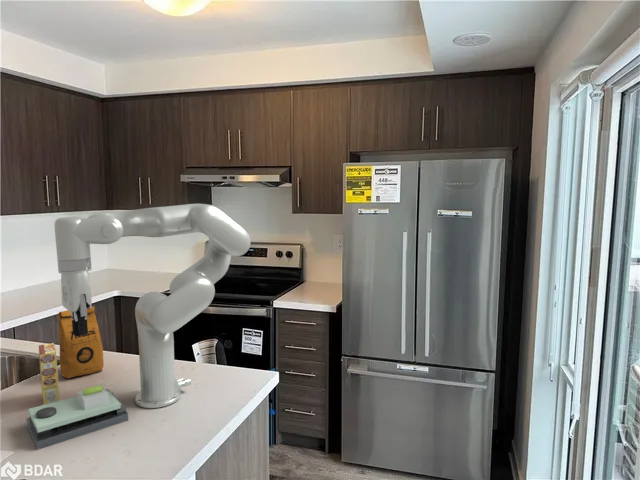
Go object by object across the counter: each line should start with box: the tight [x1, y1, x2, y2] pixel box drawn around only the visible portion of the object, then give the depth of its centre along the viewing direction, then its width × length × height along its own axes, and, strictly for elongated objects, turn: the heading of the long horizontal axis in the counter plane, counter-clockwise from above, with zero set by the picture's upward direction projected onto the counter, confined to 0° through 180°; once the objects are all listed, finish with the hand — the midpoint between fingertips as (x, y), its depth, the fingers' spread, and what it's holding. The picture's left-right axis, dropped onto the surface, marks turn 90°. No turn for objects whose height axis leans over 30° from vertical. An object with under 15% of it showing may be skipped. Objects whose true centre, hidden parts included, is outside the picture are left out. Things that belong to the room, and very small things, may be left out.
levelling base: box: [25, 391, 129, 450], centre depth 121 cm, size 21×14×3 cm, turn 131°
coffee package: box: [57, 305, 105, 379], centre depth 151 cm, size 10×12×22 cm
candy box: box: [38, 342, 61, 405], centre depth 133 cm, size 9×4×15 cm, turn 33°
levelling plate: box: [27, 384, 123, 433], centre depth 120 cm, size 20×12×5 cm, turn 131°
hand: (80, 334), depth 120 cm, fingers closed
